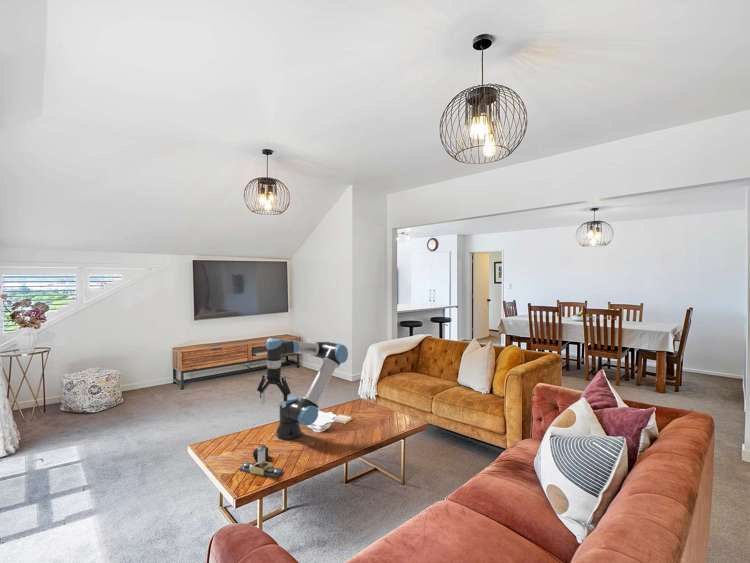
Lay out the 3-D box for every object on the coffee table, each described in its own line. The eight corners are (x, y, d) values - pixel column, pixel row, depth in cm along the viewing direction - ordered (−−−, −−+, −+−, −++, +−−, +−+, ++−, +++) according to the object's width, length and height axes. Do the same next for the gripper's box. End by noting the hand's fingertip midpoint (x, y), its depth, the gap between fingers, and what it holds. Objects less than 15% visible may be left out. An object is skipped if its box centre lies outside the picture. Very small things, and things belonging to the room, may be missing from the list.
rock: (275, 457, 212) (275, 446, 212) (265, 464, 203) (265, 453, 203) (261, 453, 216) (261, 443, 216) (249, 460, 207) (249, 449, 207)
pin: (260, 468, 199) (260, 445, 199) (267, 469, 197) (267, 446, 197) (255, 472, 195) (255, 448, 195) (262, 473, 193) (262, 449, 193)
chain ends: (248, 463, 203) (248, 458, 203) (284, 471, 196) (284, 465, 196) (238, 470, 196) (238, 464, 196) (275, 478, 189) (275, 472, 189)
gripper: (250, 366, 216) (250, 404, 216) (290, 370, 208) (289, 410, 208) (259, 363, 223) (258, 400, 223) (297, 367, 215) (296, 406, 215)
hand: (273, 405), depth 216 cm, fingers open, 13 cm apart
